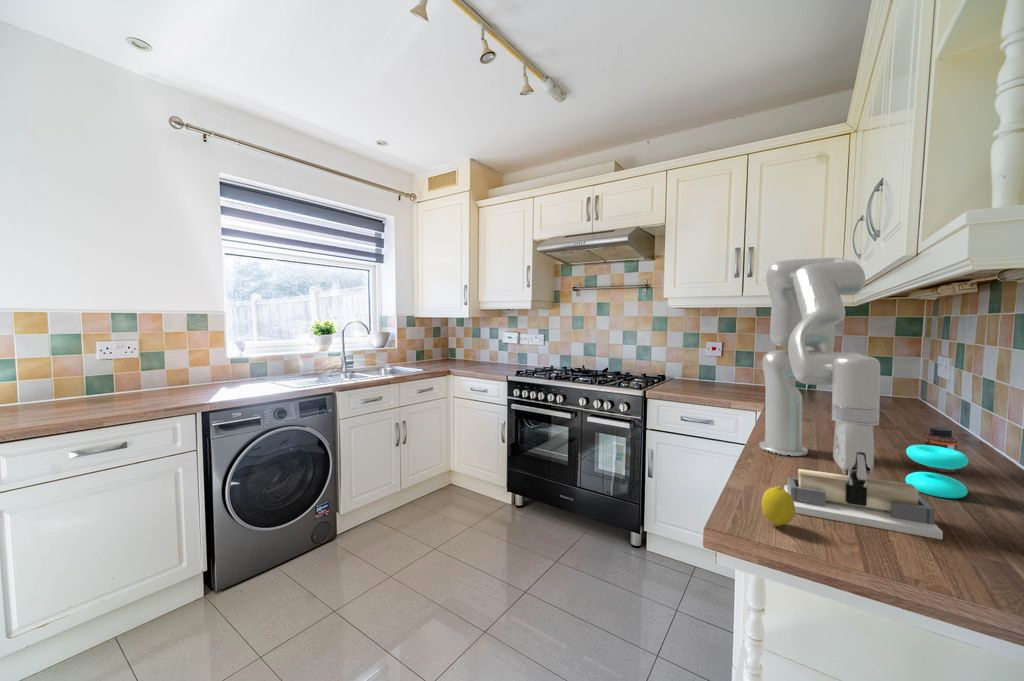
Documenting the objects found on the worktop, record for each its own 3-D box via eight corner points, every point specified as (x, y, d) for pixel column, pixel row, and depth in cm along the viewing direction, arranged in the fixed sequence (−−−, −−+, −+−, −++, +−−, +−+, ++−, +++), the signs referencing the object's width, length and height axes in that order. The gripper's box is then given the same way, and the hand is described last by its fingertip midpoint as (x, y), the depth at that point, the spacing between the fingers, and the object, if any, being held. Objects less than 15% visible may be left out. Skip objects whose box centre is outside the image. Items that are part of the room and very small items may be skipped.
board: (784, 491, 94) (784, 485, 94) (916, 512, 83) (916, 505, 83) (790, 512, 84) (790, 505, 84) (942, 539, 73) (942, 531, 73)
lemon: (800, 534, 75) (800, 493, 75) (768, 532, 76) (768, 491, 76) (786, 520, 81) (786, 482, 80) (756, 518, 82) (756, 480, 81)
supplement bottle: (960, 475, 102) (962, 432, 102) (928, 471, 105) (929, 429, 105) (951, 468, 107) (952, 427, 107) (920, 464, 110) (921, 424, 110)
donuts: (979, 459, 86) (916, 452, 91) (977, 504, 86) (915, 495, 91) (954, 446, 95) (899, 441, 99) (953, 487, 95) (898, 480, 100)
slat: (797, 490, 90) (798, 468, 89) (910, 508, 80) (911, 483, 80) (800, 496, 86) (800, 474, 86) (917, 515, 77) (918, 490, 77)
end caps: (787, 489, 92) (787, 476, 92) (919, 510, 81) (919, 495, 81) (791, 500, 86) (791, 487, 86) (934, 524, 75) (934, 509, 75)
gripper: (824, 405, 92) (823, 483, 92) (841, 421, 77) (839, 512, 78) (866, 408, 88) (865, 489, 89) (892, 425, 74) (890, 521, 74)
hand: (853, 499), depth 83 cm, fingers closed on slat, 3 cm apart
